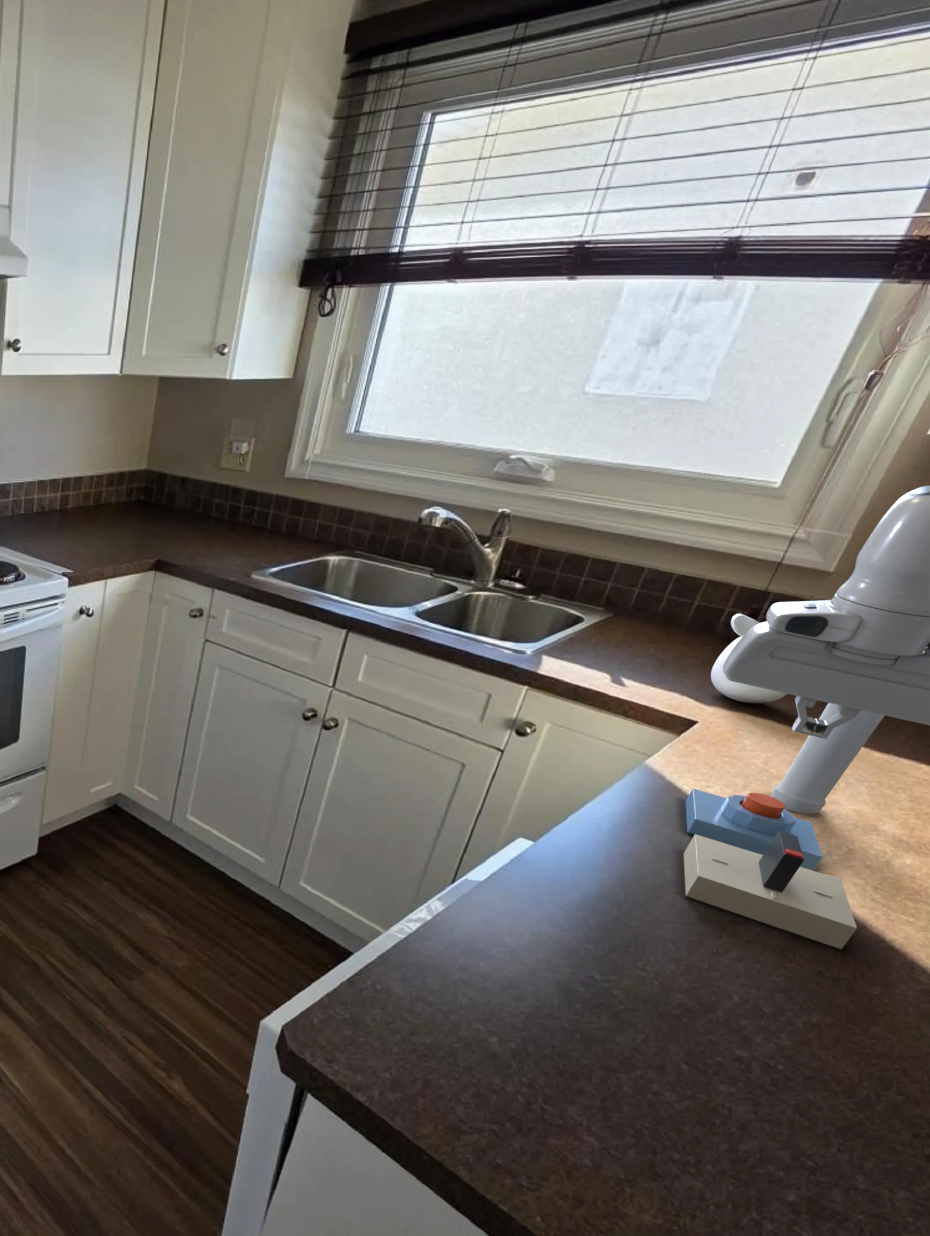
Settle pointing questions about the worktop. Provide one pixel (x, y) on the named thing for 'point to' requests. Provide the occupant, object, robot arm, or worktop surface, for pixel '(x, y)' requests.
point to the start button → (763, 805)
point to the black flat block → (780, 861)
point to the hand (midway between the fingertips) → (808, 733)
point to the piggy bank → (733, 688)
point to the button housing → (747, 825)
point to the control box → (768, 892)
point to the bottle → (824, 762)
